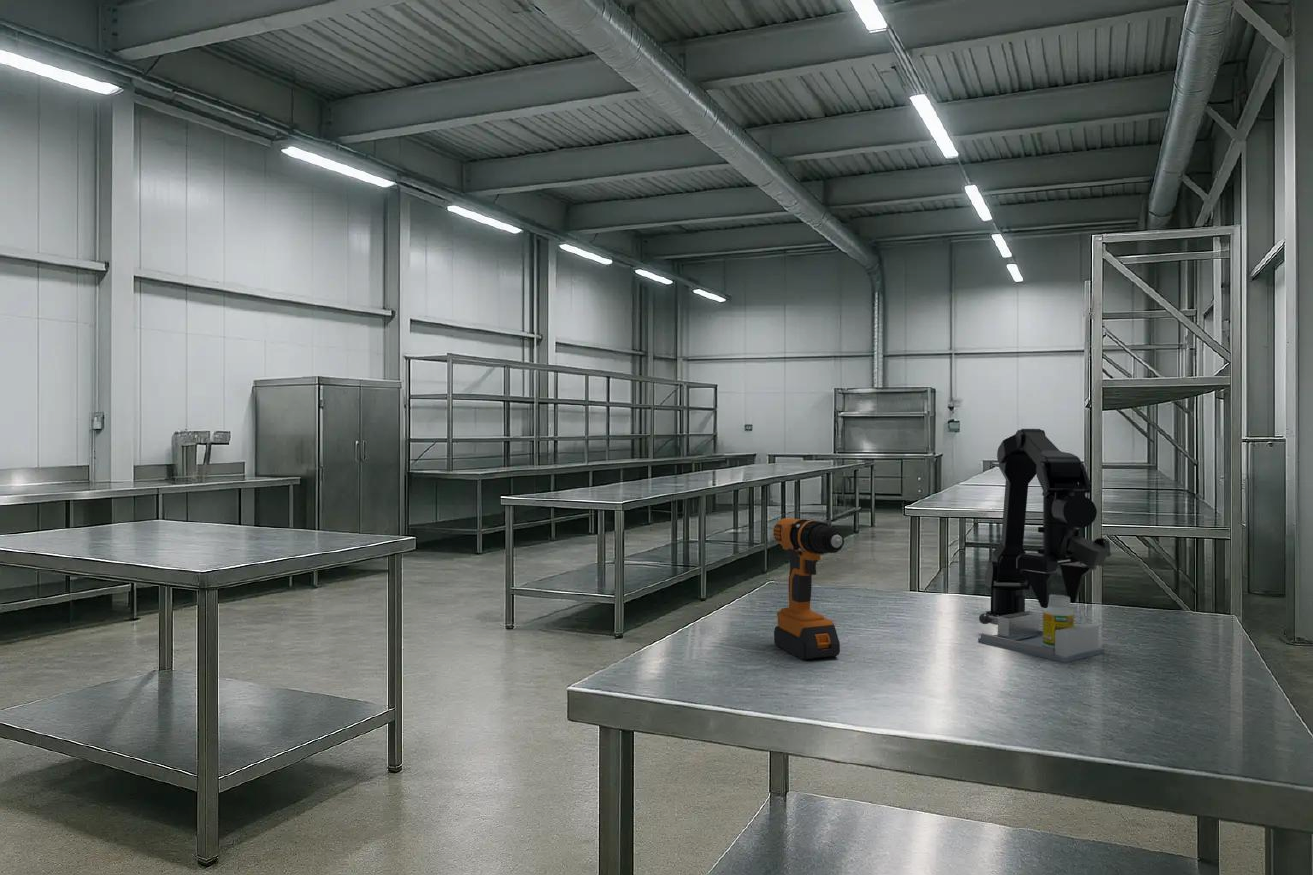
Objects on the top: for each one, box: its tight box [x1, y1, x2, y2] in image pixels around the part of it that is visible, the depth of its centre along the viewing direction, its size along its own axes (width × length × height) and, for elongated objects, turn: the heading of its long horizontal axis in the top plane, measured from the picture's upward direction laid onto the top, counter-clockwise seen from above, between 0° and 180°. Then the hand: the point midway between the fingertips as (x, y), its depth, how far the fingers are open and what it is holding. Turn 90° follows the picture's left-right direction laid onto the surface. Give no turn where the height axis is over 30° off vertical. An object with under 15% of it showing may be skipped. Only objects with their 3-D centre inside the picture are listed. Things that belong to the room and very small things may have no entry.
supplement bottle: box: [1042, 594, 1075, 650], centre depth 166 cm, size 5×5×10 cm
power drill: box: [773, 517, 845, 661], centre depth 163 cm, size 22×7×25 cm, turn 18°
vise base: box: [977, 623, 1105, 664], centre depth 169 cm, size 18×13×5 cm
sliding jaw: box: [978, 610, 1040, 640], centre depth 176 cm, size 10×10×4 cm
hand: (1058, 605), depth 166 cm, fingers open, 9 cm apart
